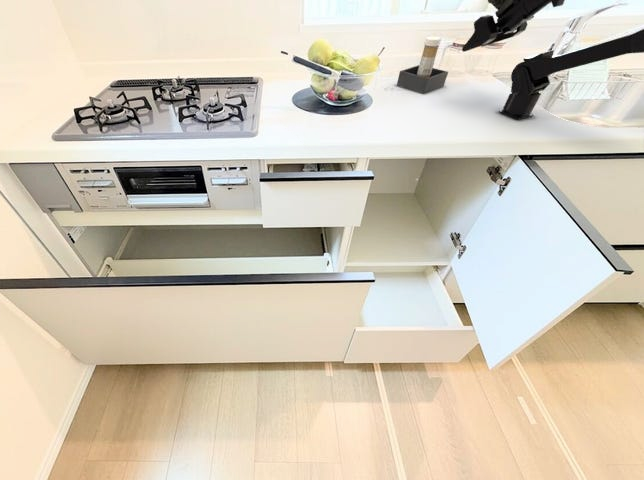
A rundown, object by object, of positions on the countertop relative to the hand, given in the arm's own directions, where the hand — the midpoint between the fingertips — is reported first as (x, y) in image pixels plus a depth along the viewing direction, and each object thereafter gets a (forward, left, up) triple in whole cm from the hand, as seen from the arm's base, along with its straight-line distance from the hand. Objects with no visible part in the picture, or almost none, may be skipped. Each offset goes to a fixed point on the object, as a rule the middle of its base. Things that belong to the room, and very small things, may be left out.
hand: (472, 47), depth 97 cm
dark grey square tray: (+12, +4, -13) cm, 18 cm away
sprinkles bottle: (+12, +4, -13) cm, 18 cm away
